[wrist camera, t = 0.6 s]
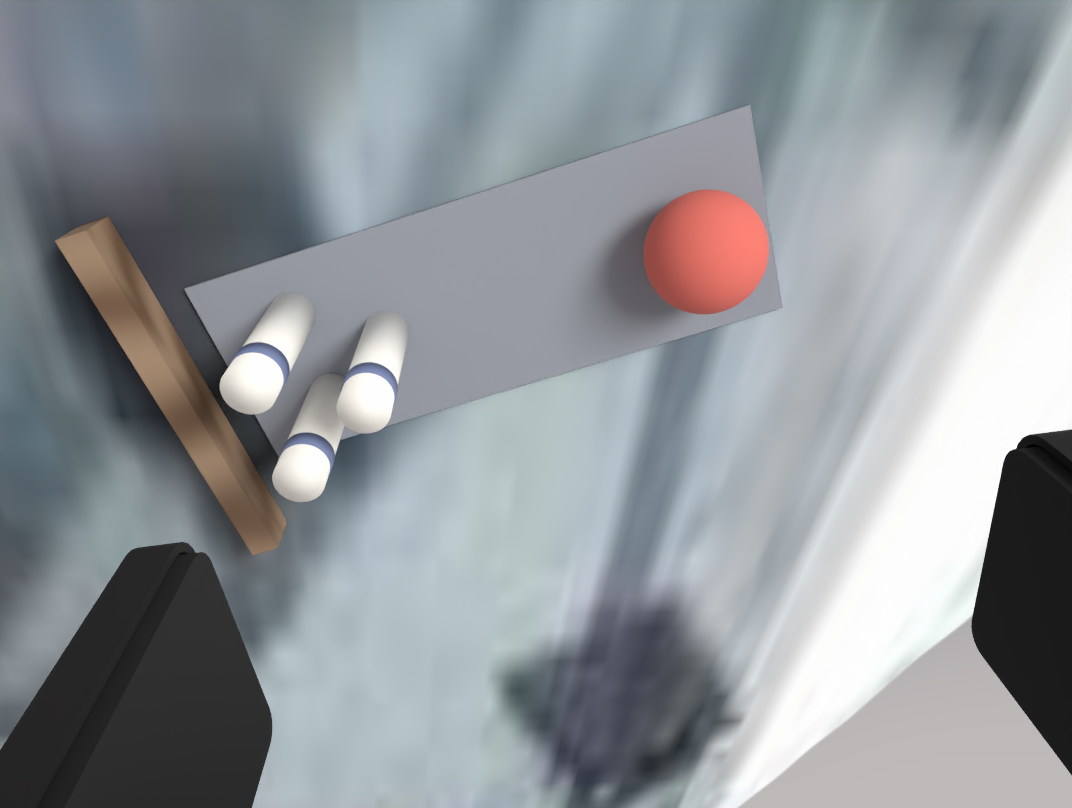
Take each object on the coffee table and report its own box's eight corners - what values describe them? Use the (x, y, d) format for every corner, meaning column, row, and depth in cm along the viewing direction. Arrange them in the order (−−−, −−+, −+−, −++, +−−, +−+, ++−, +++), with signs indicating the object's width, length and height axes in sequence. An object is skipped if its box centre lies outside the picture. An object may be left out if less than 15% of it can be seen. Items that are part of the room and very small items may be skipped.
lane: (185, 287, 40) (184, 289, 40) (748, 104, 38) (750, 105, 37) (280, 456, 46) (279, 458, 45) (781, 306, 43) (782, 307, 43)
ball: (622, 198, 39) (642, 231, 34) (737, 161, 39) (776, 189, 34) (648, 303, 42) (671, 349, 37) (756, 270, 42) (795, 312, 36)
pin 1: (261, 298, 41) (207, 374, 33) (305, 284, 41) (261, 357, 33) (282, 339, 42) (235, 422, 34) (325, 326, 42) (288, 406, 34)
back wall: (79, 226, 39) (54, 240, 36) (108, 216, 39) (85, 230, 36) (263, 529, 48) (252, 555, 46) (287, 522, 48) (277, 547, 46)
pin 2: (302, 378, 43) (261, 466, 35) (344, 365, 43) (312, 451, 35) (321, 415, 45) (285, 508, 37) (362, 402, 44) (334, 494, 36)
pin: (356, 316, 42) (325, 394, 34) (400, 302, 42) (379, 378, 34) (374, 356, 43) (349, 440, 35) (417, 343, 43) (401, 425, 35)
